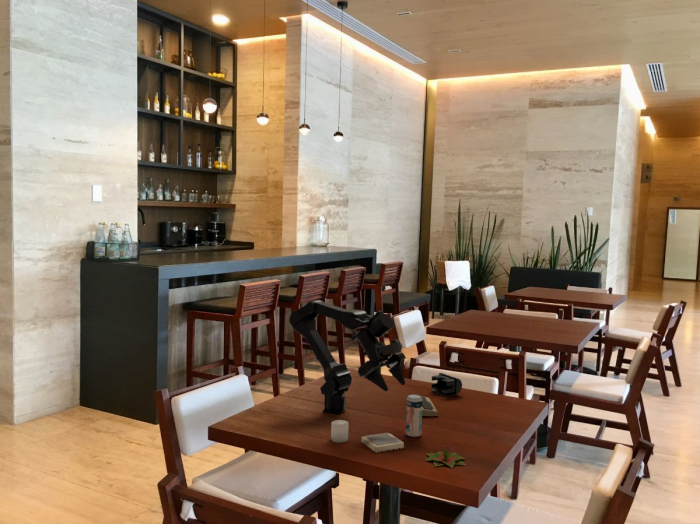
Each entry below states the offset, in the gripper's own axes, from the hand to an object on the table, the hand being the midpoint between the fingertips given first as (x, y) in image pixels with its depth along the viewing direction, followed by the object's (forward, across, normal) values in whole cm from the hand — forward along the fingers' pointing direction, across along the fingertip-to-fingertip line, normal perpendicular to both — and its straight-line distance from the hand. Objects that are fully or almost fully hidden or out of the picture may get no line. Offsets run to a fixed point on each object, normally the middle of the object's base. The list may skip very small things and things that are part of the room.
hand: (395, 387), depth 189 cm
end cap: (+5, +45, +15) cm, 48 cm away
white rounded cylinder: (+6, -19, +13) cm, 24 cm away
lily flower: (+26, -12, -11) cm, 31 cm away
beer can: (+15, -1, +2) cm, 15 cm away
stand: (+14, -14, +4) cm, 20 cm away
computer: (+8, +22, +12) cm, 26 cm away
